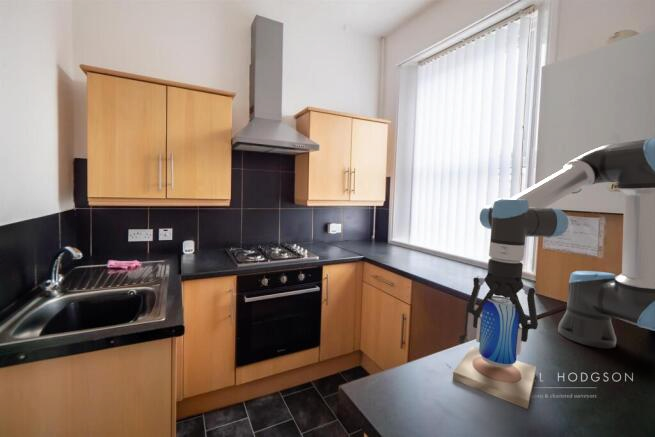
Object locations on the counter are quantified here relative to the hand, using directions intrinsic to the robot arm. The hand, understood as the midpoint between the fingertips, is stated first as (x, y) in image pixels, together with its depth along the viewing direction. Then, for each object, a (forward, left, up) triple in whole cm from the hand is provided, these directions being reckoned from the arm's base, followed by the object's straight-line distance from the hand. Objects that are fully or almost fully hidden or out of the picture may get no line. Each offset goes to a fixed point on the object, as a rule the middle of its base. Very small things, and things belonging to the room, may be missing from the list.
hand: (497, 346), depth 78 cm
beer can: (0, 0, -4) cm, 4 cm away
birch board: (0, 0, -8) cm, 8 cm away
